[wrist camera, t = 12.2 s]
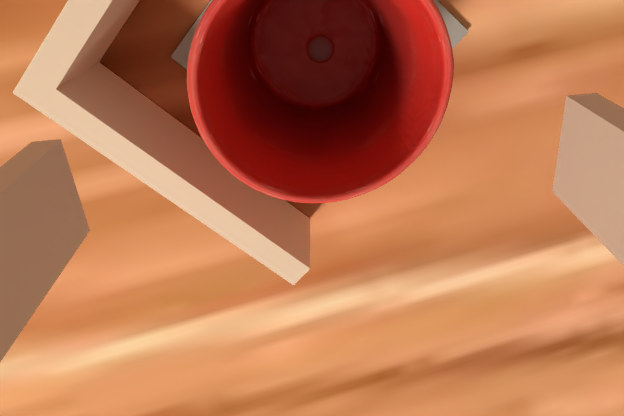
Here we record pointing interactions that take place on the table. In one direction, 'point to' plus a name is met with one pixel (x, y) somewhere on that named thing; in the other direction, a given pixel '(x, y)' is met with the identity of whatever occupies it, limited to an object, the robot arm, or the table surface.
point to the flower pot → (319, 91)
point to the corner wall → (154, 138)
